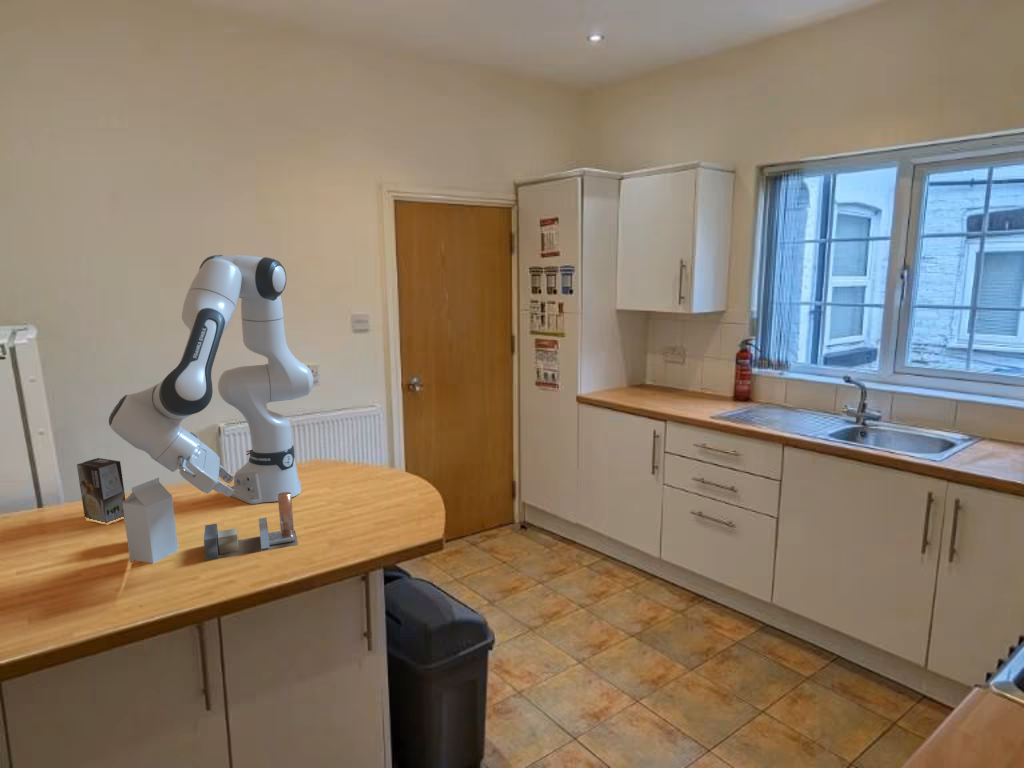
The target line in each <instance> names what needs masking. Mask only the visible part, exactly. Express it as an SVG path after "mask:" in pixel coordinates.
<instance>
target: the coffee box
mask: <svg viewBox="0 0 1024 768" xmlns="http://www.w3.org/2000/svg"><path fill="white" fill-rule="evenodd" d="M76 468H77V475H78V481H79V488H80V493H81V500H82V501H81V502H82V507H83V515H84V518H85V517H86V518H89V519H93V520H97V521H101V522H105V523H108V522H110V521H113V520H116V519H118V518H121V517H124V511H123V502H124V501H125V500H126V494H125V487H124V479H123V471H122V466H121V461H120V460H113V459H107V458H100V457H96V458H92V459H90V460H86V461H83V462H81V463H78V464H76Z"/></svg>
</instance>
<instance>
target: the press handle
mask: <svg viewBox="0 0 1024 768" xmlns="http://www.w3.org/2000/svg"><path fill="white" fill-rule="evenodd" d="M292 500H293V499H292V498H291V493H290V492H283V493H279V494H278V501H277V503H278V514H279V525H280V531H274V532H269V527H268V519H267V517H260V518H258V524H259V525H258V528H259V536H260V540H261V549H265V548H270V546H269V545H273V544H279V543H285V542H291V541H295V535H294V531H295V527H294V526H295V525H294V514H293V503H292V502H293V501H292Z"/></svg>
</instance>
